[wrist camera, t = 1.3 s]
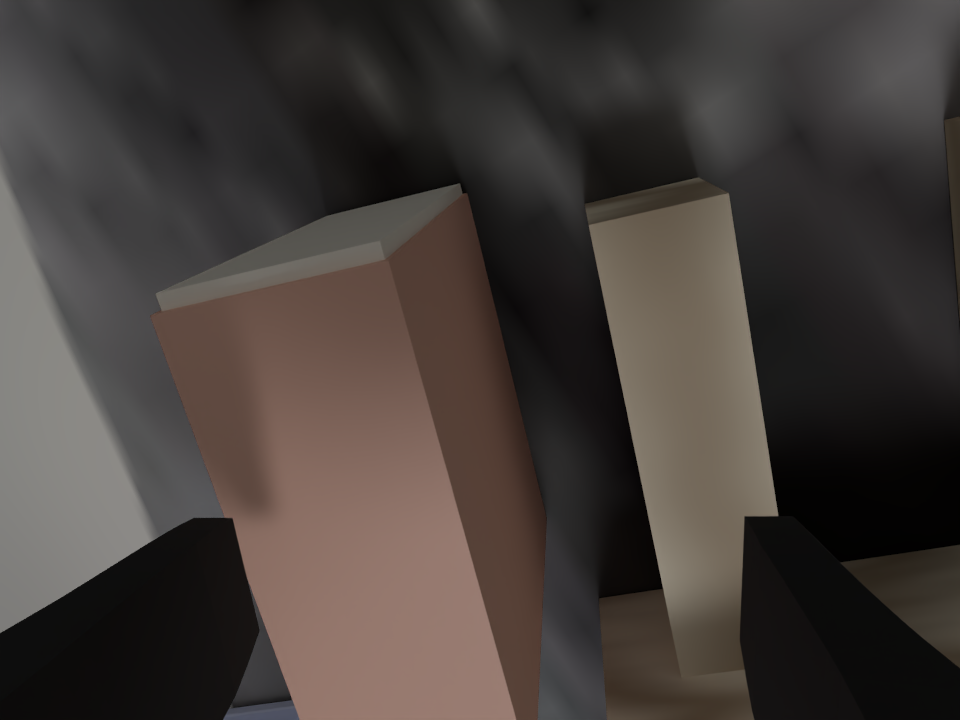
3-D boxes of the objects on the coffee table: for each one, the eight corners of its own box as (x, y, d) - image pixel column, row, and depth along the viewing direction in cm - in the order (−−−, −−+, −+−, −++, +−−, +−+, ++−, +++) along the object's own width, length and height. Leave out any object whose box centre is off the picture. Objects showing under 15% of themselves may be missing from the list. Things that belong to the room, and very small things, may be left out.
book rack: (608, 638, 25) (630, 912, 17) (511, 221, 21) (475, 296, 13) (1169, 560, 22) (1540, 838, 14) (1168, 67, 19) (1676, 33, 10)
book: (421, 538, 25) (331, 806, 15) (325, 215, 22) (143, 297, 12) (546, 517, 24) (534, 784, 15) (464, 181, 21) (382, 240, 12)
